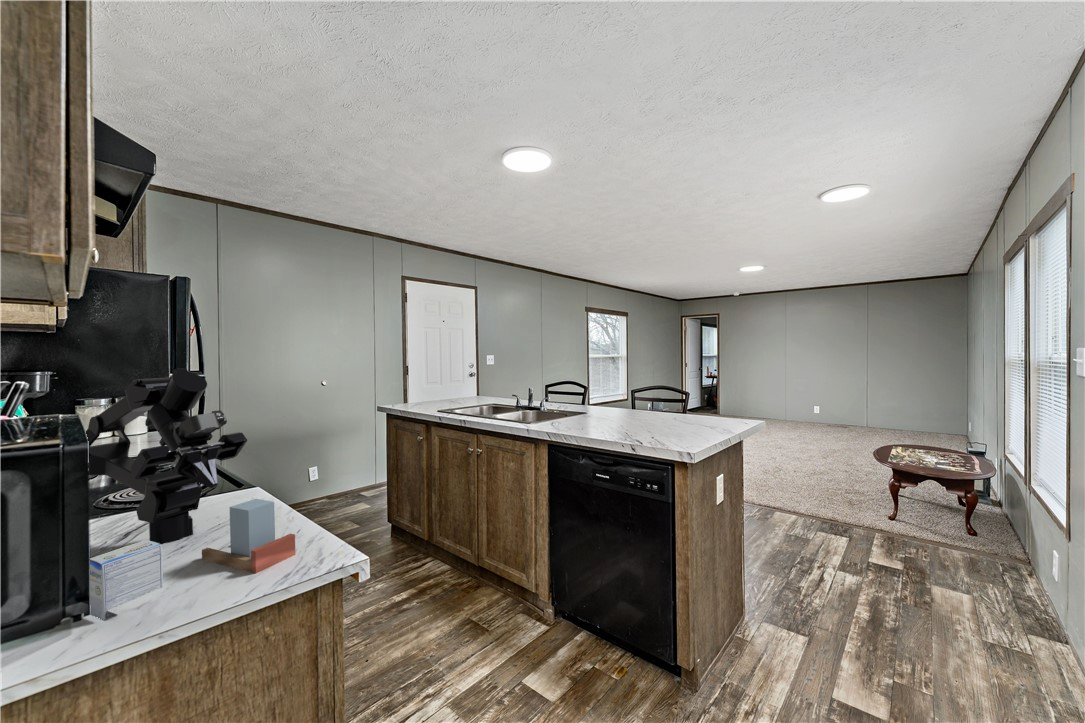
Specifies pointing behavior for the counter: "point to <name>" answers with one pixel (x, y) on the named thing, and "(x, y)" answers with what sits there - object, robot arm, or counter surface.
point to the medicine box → (124, 576)
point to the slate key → (251, 526)
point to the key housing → (255, 555)
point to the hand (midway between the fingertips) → (214, 486)
